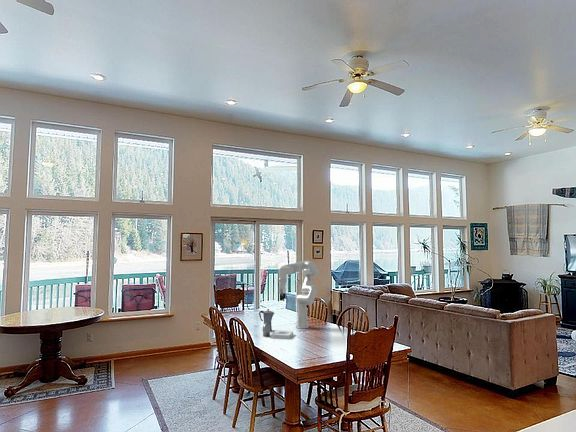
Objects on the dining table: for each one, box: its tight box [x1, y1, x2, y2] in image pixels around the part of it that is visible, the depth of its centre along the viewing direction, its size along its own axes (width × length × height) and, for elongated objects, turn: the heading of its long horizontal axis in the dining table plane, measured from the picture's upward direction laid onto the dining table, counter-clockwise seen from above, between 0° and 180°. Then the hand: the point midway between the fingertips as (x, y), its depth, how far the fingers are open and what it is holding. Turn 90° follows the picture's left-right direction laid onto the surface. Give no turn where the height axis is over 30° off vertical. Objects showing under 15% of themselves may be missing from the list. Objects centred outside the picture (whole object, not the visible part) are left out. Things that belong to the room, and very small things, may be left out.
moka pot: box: [258, 308, 275, 332], centre depth 356 cm, size 10×15×20 cm, turn 78°
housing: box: [270, 329, 294, 340], centre depth 333 cm, size 16×16×3 cm
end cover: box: [262, 323, 271, 338], centre depth 335 cm, size 6×6×11 cm
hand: (282, 299), depth 345 cm, fingers open, 9 cm apart
